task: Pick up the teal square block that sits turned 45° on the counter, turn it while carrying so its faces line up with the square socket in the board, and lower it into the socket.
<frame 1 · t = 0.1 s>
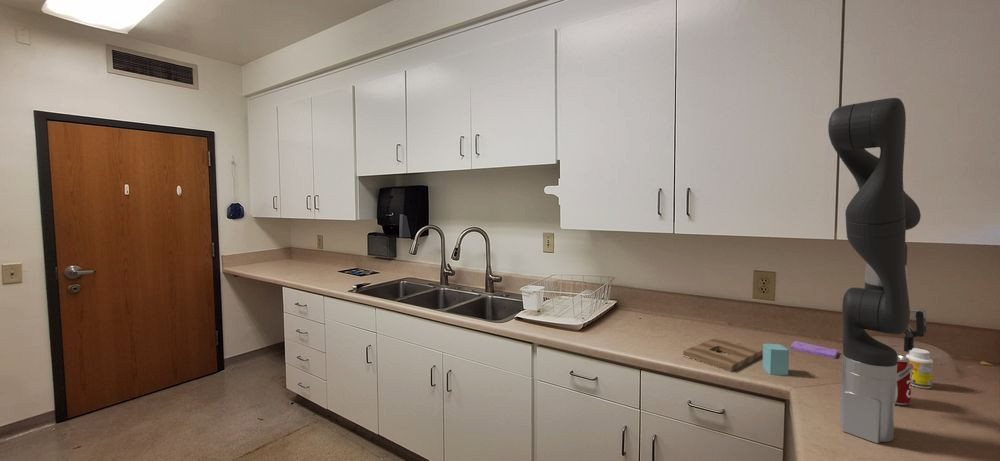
hand: (882, 345, 99), 17 cm above the worktop, tool pointing down, fingers open, 8 cm apart
sponges: (814, 353, 142), on the worktop
soda can: (892, 401, 106), on the worktop
supplement bottle: (917, 385, 115), on the worktop
teal block: (775, 371, 125), on the worktop
socket board: (722, 356, 139), on the worktop
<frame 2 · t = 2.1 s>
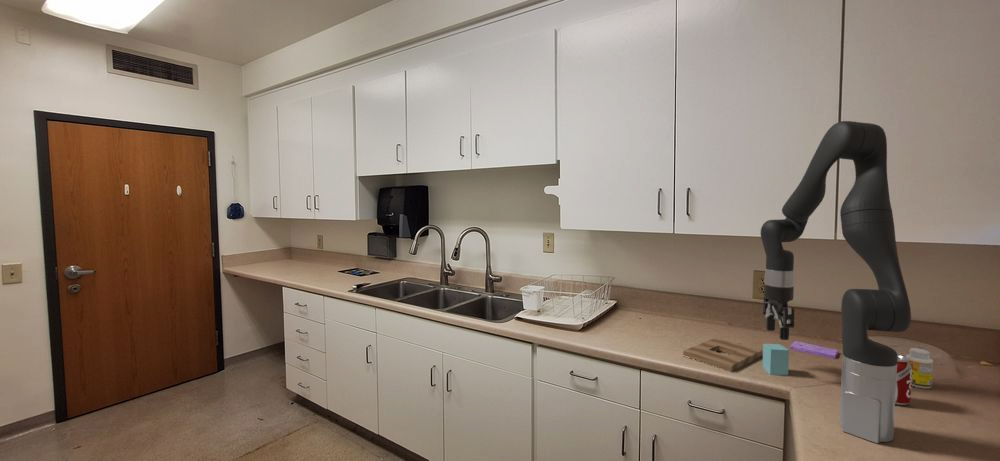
hand: (777, 334, 125), 12 cm above the worktop, tool pointing down, fingers open, 8 cm apart
nothing on the worktop moved.
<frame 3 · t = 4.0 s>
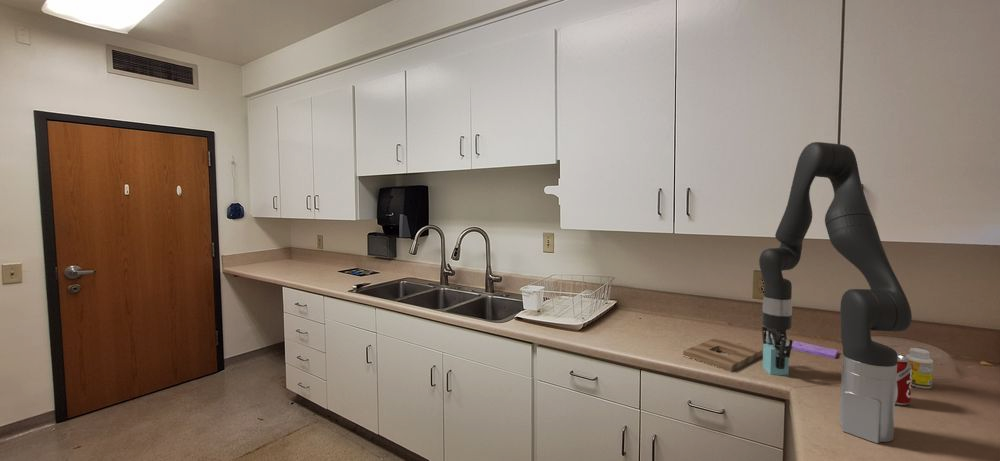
hand: (775, 364, 125), 2 cm above the worktop, tool pointing down, fingers closed on teal block, 5 cm apart
teal block: (775, 371, 125), on the worktop, touching gripper
everything else where it was.
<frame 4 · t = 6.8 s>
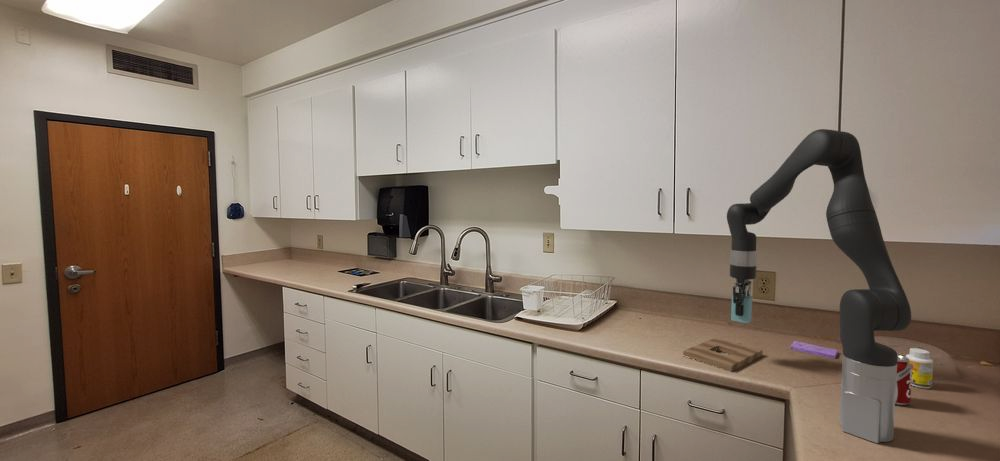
hand: (741, 313, 134), 16 cm above the worktop, tool pointing down, fingers closed on teal block, 5 cm apart
teal block: (741, 320, 134), point 14 cm above the worktop, touching gripper
everything else where it was.
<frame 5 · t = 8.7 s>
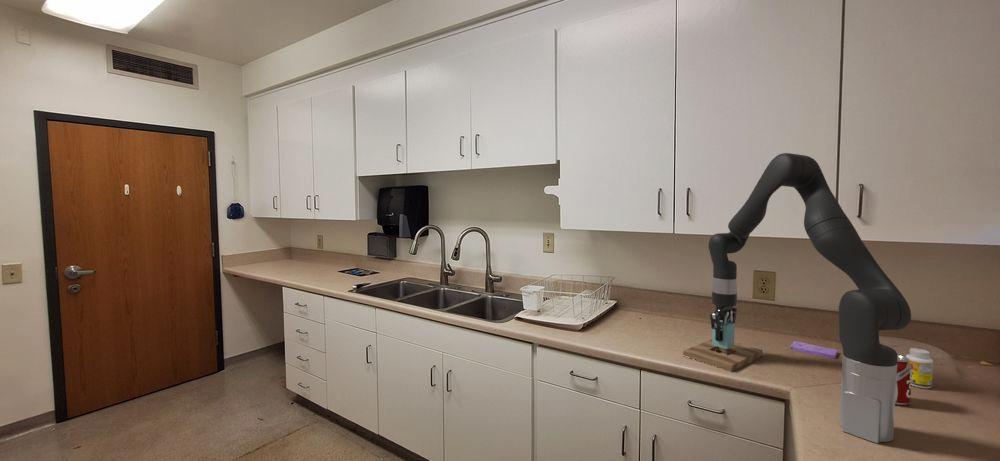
hand: (723, 339, 138), 6 cm above the worktop, tool pointing down, fingers closed on teal block, 5 cm apart
teal block: (723, 345, 138), point 4 cm above the worktop, touching gripper
everything else where it was.
when the fingers open (4 cm above the worktop, at t = 10.0 s): teal block drops 1 cm, resting in socket board.
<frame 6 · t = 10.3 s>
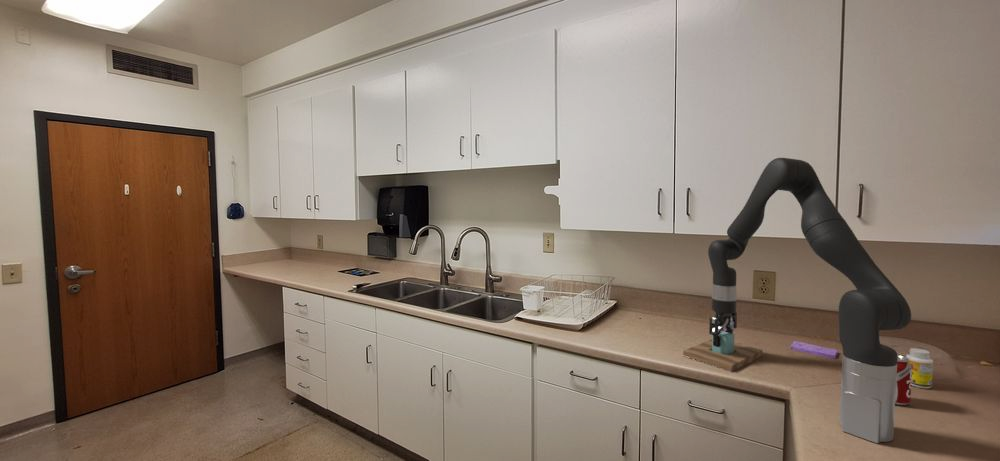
hand: (722, 343, 138), 4 cm above the worktop, tool pointing down, fingers open, 8 cm apart
teal block: (722, 356, 138), resting in socket board
everything else where it was.
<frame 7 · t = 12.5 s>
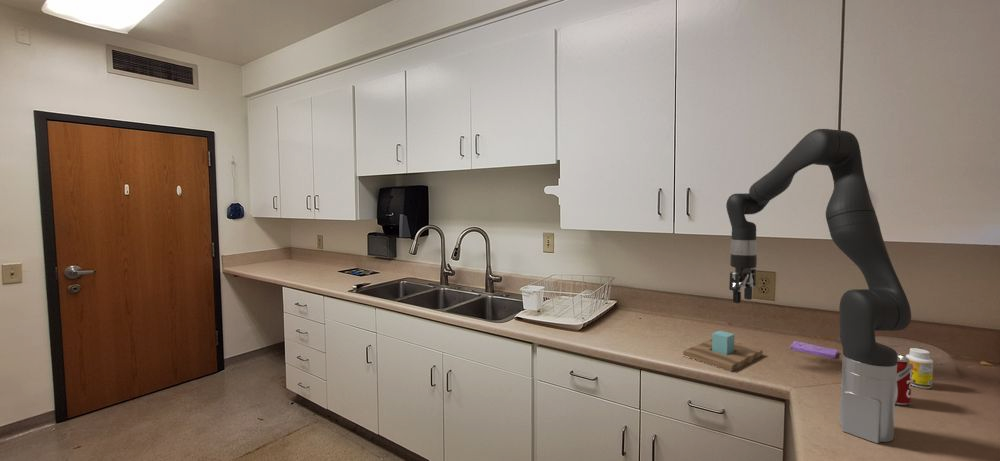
hand: (742, 301, 134), 20 cm above the worktop, tool pointing down, fingers open, 8 cm apart
nothing on the worktop moved.
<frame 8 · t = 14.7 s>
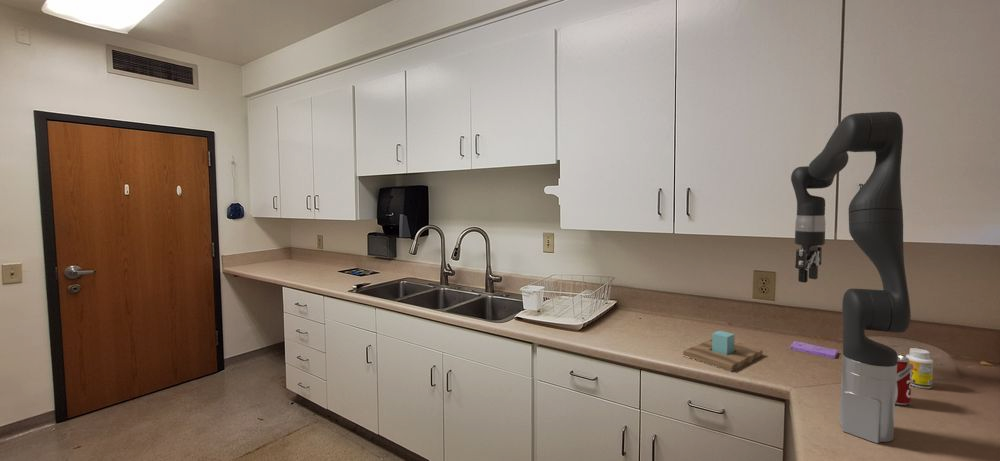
hand: (808, 280, 127), 28 cm above the worktop, tool pointing down, fingers open, 8 cm apart
nothing on the worktop moved.
at the end: teal block 0.1 cm off-centre on the socket board, point 0.0 cm above the socket board's base; teal block tilted 0°; the gripper is holding nothing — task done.
